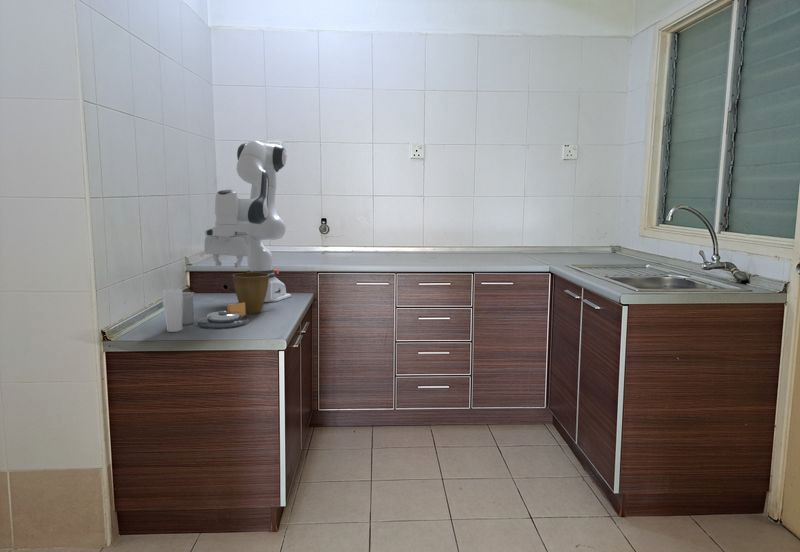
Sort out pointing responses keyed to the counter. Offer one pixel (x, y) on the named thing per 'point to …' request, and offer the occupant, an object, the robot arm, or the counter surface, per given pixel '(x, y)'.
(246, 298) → the plant pot
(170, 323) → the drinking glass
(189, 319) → the beverage can
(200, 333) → the counter surface
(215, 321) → the dial
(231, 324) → the dial plate
